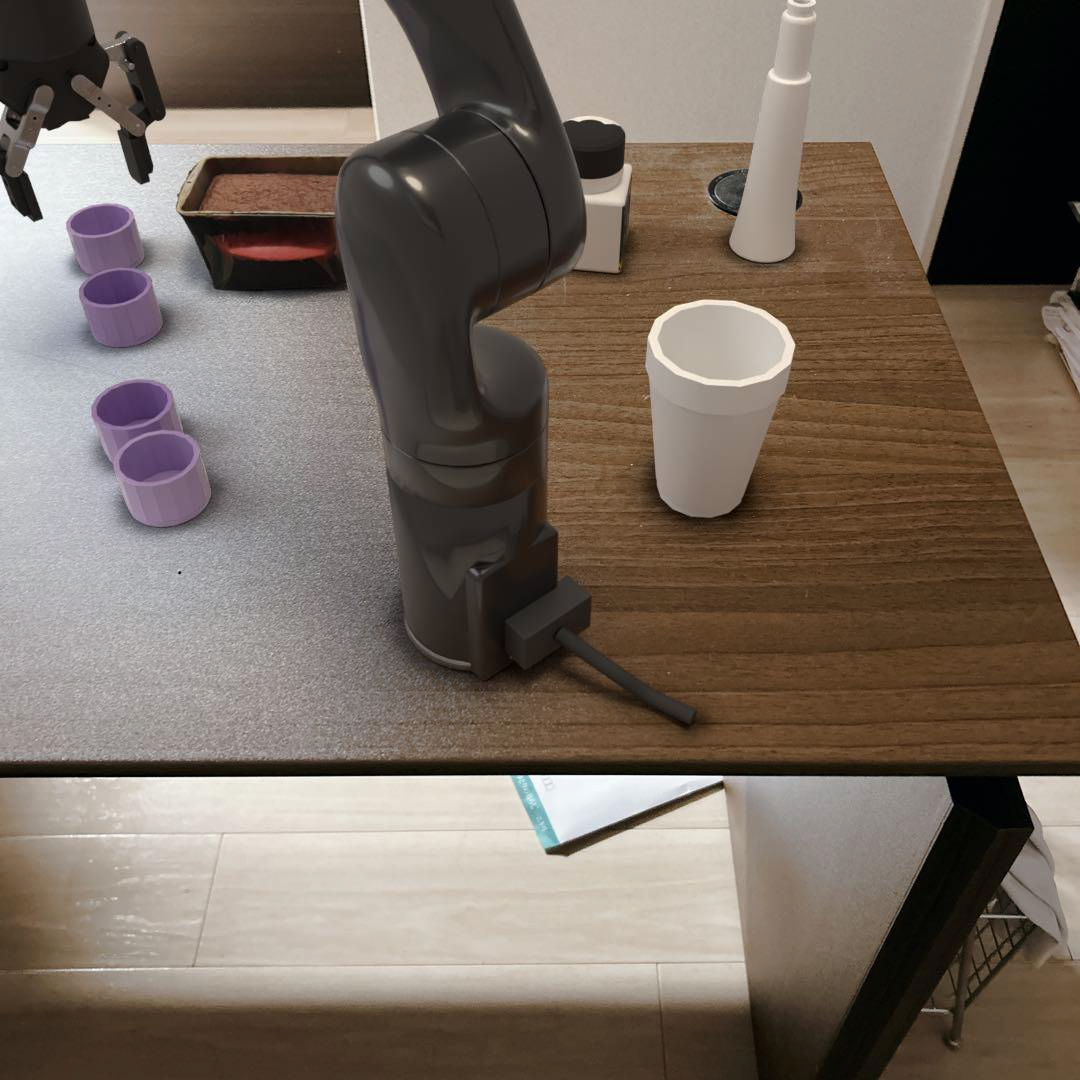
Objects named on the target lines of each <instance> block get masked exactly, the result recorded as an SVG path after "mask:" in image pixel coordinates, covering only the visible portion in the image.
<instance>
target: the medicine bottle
mask: <svg viewBox="0 0 1080 1080" xmlns="http://www.w3.org/2000/svg"><path fill="white" fill-rule="evenodd" d="M562 123H563V126H564V128H565V131H566V134H567V136H568V139H569V142H570V145H571V148H572V151H573V154H574V157H575V160H576V164H577V167H578V171H579V175H580V179H581V183H582V188H583V193H584V198H585V204H586V213H587V236H586V241H585V245H584V250H583V253H582V256H581V258H580V259H579V261H578V263H577V264H576V266H575V267H574V269H573V270H575V271H576V270H577V271H585V272H598V273H610V274H619V273H620V272H621V271H622V266H623V261H624V255H625V250H626V245H627V239H628V235H629V226H630V211H631V198H632V196H631V195H632V183H633V182H632V181H633V166H632V164H631V163H625V155H626V154H625V153H626V132H625V130H624V128H623V127H622V126H621V125H620V124H619V123H617V122H616V121H614V120H612V119H610V118H606V117H602V116H596V115H583V116H577V117H572V118H570V119H567V120H565V121H564V122H562Z"/></svg>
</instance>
